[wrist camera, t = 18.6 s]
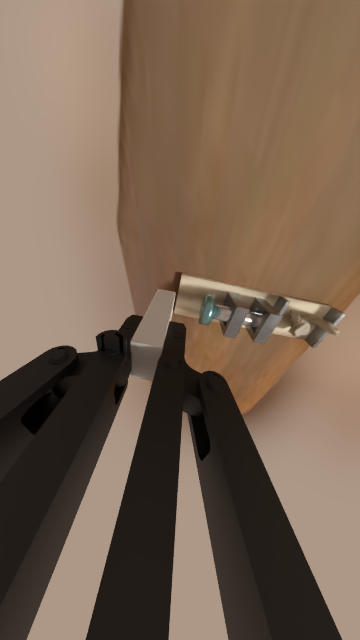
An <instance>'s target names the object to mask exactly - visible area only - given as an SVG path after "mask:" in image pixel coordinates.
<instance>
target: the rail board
mask: <svg viewBox="0 0 360 640" xmlns="http://www.w3.org/2000/svg"><path fill="white" fill-rule="evenodd" d="M228 292H233V293H238V294H239V295H240V296H241V298H242V299H243V301H244V302H245V303H246V305H247V306H248V308H250V306H251V304H252V302H253V300H254V298H255V297H256V298H261V299H265V300H266V301H267V302H268V303H269V304H271V305H272V306H273V307H274V305H275V303H276V302H277V300H278V298H279V297H280V296H282V297H284V298H286V299H287V300H288V301H290V304H289V306H288V307H287V309H286V310H285V312H284V313H283V315H282V316H283V317H282V319H281V320H280V322H279V323H278V325H277V326H276V328H275V329H274V331H273V332H272V333H273V334H278V335H283V336H288V337H293V336H292V334H291V333H289V332H288V331H289V330H290V328H291V326H292V325H293V321H292V320H290V314H291V312H290V310H292V311H293V312H297V313H299V314H300V317H301V316H306V315H310V314H313V315H316V316H318V317H321V318H323V317H324V316H325V315H326V313H327V312H328V311H329V310H330V309H331V308H332V306H331V305H327V304H323V303H318V302H314V301H309V300H304V299H300V298H295V297H291V296H286V295H281V294H277V293H272V292H268V291H263V290H259V289H254V288H249V287H245V286H240V285H236V284H231V283H227V282H222V281H217V280H213V279H208V278H204V277H199V276H194V275H190V274H185V273H182V276H181V281H180V286H179V291H178V296H177V300H176V305H175V310H174V313H175V314H180V315H184V316H189V317H194V318H199V313H200V308H201V304H202V301H203V298H204V296H205V295H206V294H207V295H212V296H214V297H215V304H217V305H223V303H224V300H225V298H226V295H227V293H228ZM333 308H334V307H333ZM211 321H214V322H219V320H216V319H211ZM219 323H220V322H219ZM309 324H310V330H309V333H308V334H307V335H300V336H298V337H296V336H294V337H293V338H298V339H303V340H305V339H306V337H307V336H308V335H309V334H310V333H311V331H312V330H313V329H314V328H315V327H316V325H317V324H315V323H312V322H309ZM241 327H244V328H245V326H244V325H242V326H241Z"/></svg>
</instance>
